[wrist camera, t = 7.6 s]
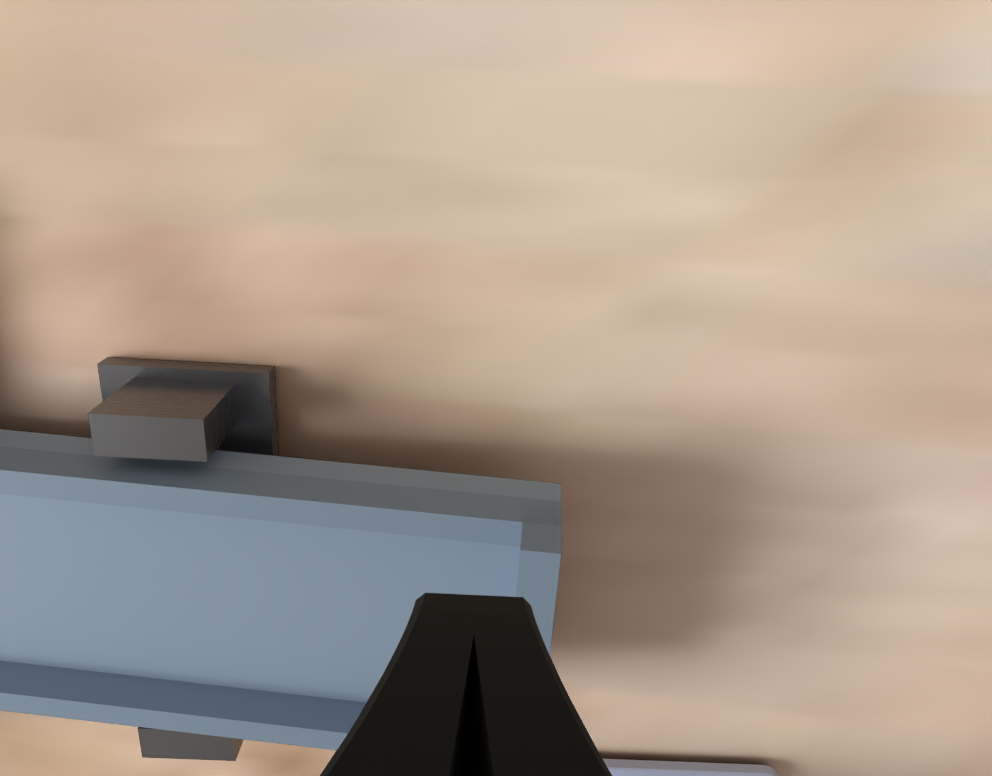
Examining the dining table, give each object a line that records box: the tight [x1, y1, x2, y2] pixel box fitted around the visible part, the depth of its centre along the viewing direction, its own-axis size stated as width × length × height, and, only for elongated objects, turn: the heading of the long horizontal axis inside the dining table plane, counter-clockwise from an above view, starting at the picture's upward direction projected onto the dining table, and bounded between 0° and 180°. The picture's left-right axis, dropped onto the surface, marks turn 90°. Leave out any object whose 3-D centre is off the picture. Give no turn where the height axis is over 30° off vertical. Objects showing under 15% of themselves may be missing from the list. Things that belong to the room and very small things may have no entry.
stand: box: [88, 357, 279, 761], centre depth 18 cm, size 10×4×3 cm, turn 176°
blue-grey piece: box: [0, 429, 561, 750], centre depth 16 cm, size 13×18×3 cm
